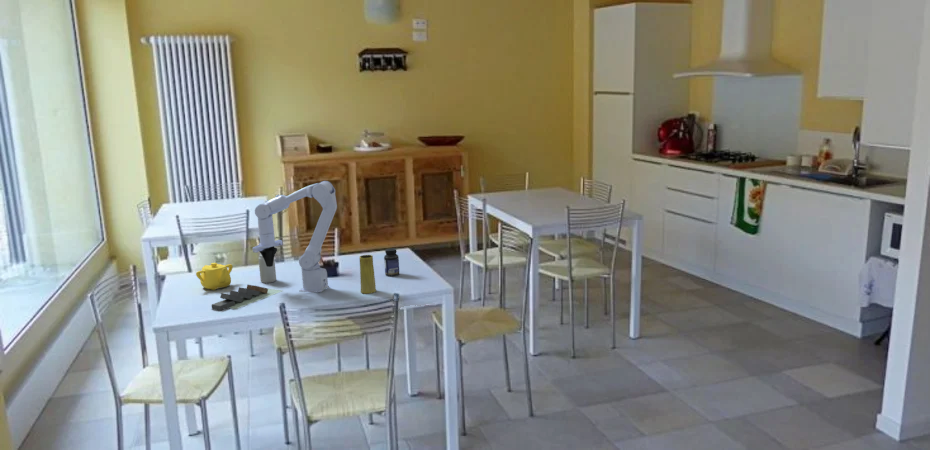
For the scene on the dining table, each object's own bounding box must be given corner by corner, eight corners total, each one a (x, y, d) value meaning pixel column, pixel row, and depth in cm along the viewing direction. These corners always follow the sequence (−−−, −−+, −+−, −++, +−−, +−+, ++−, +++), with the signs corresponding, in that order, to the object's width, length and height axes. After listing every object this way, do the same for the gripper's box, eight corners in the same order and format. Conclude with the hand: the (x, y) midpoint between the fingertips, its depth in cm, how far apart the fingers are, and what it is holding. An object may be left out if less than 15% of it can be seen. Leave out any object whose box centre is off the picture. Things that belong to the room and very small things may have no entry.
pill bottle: (402, 273, 303) (401, 248, 301) (393, 277, 298) (392, 251, 296) (391, 272, 307) (389, 247, 304) (382, 275, 301) (380, 250, 299)
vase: (363, 294, 275) (361, 259, 272) (358, 291, 280) (356, 255, 277) (378, 292, 278) (376, 256, 275) (373, 288, 283) (370, 253, 280)
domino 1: (226, 299, 268) (211, 304, 262) (234, 300, 266) (219, 306, 260) (226, 303, 269) (211, 309, 263) (234, 305, 266) (220, 310, 261)
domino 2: (234, 296, 272) (221, 293, 266) (243, 297, 270) (229, 294, 264) (233, 301, 272) (220, 297, 266) (241, 302, 270) (228, 299, 264)
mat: (261, 288, 289) (261, 287, 289) (283, 291, 283) (283, 290, 283) (213, 305, 268) (213, 305, 268) (236, 309, 262) (235, 308, 262)
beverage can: (272, 284, 294) (269, 256, 292) (258, 284, 296) (255, 256, 293) (279, 280, 301) (276, 252, 298) (265, 279, 302) (262, 252, 300)
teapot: (239, 282, 300) (236, 258, 298) (228, 291, 287) (226, 266, 285) (207, 283, 300) (204, 259, 298) (195, 292, 287) (192, 267, 285)
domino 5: (260, 287, 283) (247, 284, 277) (268, 288, 281) (255, 285, 275) (259, 291, 283) (246, 289, 277) (267, 293, 281) (254, 290, 275)
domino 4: (251, 290, 279) (238, 287, 273) (260, 291, 277) (247, 288, 271) (250, 294, 279) (237, 291, 273) (258, 296, 277) (246, 293, 271)
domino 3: (243, 293, 276) (230, 290, 270) (252, 294, 274) (238, 291, 268) (242, 297, 276) (229, 295, 270) (251, 299, 273) (237, 296, 267)
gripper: (272, 228, 290) (275, 261, 292) (245, 236, 277) (248, 269, 280) (285, 230, 286) (288, 262, 289) (258, 237, 274) (262, 271, 276)
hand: (269, 266), depth 284 cm, fingers closed
